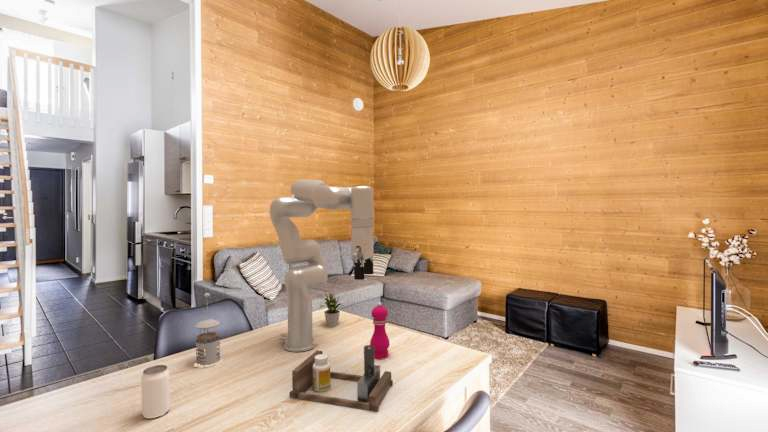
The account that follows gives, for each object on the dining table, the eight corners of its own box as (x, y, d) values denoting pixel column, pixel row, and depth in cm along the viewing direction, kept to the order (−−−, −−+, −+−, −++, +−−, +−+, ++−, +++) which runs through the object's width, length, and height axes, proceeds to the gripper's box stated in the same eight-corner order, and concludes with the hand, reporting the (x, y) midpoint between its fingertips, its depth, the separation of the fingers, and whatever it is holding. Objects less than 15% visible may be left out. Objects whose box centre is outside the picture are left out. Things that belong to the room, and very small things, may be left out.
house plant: (307, 325, 173) (307, 290, 172) (330, 318, 184) (330, 285, 183) (328, 332, 164) (328, 295, 163) (350, 324, 174) (350, 289, 174)
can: (150, 407, 104) (149, 364, 104) (174, 405, 105) (173, 363, 104) (137, 420, 98) (135, 375, 97) (162, 419, 98) (161, 374, 98)
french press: (197, 371, 126) (195, 297, 125) (188, 360, 135) (186, 291, 134) (227, 362, 133) (225, 293, 132) (216, 352, 142) (215, 287, 141)
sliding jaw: (357, 403, 105) (357, 354, 104) (371, 383, 116) (370, 339, 116) (367, 405, 104) (367, 355, 103) (380, 385, 115) (380, 340, 115)
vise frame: (289, 397, 109) (289, 370, 109) (314, 373, 124) (314, 350, 124) (377, 411, 101) (377, 382, 101) (392, 384, 116) (392, 359, 116)
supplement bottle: (333, 385, 116) (333, 354, 116) (325, 393, 111) (325, 361, 111) (318, 382, 118) (317, 352, 118) (309, 390, 113) (309, 358, 112)
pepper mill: (390, 351, 142) (390, 299, 141) (388, 359, 134) (388, 304, 134) (371, 351, 142) (371, 299, 142) (368, 359, 135) (368, 304, 134)
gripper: (360, 223, 130) (361, 272, 131) (342, 225, 114) (343, 281, 114) (380, 223, 129) (382, 272, 129) (365, 225, 112) (367, 282, 112)
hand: (364, 276), depth 121 cm, fingers open, 9 cm apart
